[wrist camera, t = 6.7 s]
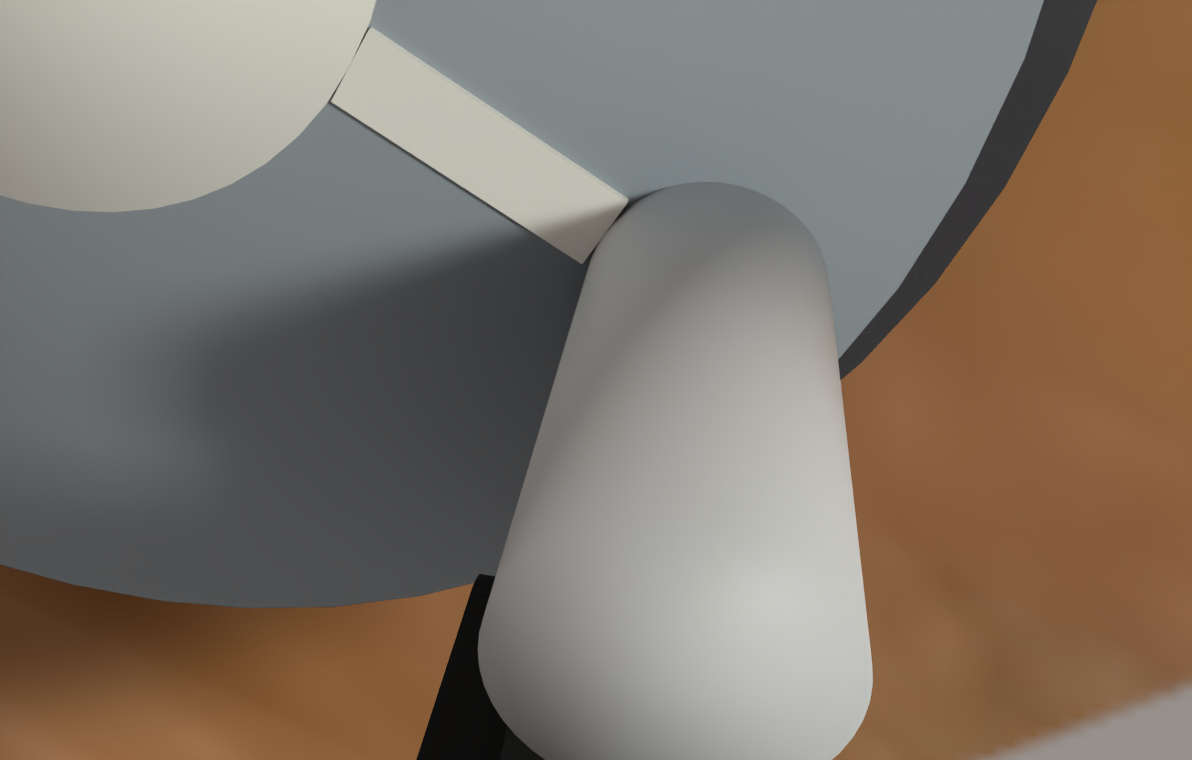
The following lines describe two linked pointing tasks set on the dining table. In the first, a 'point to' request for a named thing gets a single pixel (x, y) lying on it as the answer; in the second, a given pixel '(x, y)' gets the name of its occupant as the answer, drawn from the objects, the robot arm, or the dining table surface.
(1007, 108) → the turntable base
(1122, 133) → the dining table surface
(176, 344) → the turntable
